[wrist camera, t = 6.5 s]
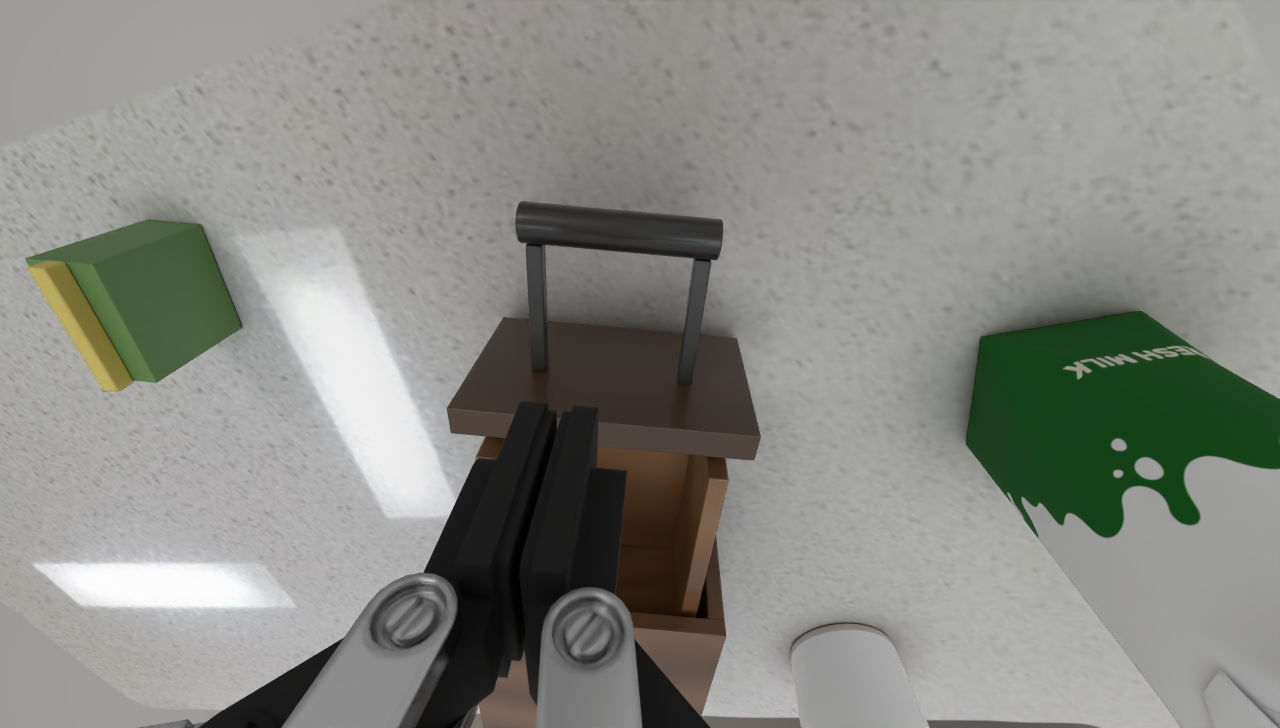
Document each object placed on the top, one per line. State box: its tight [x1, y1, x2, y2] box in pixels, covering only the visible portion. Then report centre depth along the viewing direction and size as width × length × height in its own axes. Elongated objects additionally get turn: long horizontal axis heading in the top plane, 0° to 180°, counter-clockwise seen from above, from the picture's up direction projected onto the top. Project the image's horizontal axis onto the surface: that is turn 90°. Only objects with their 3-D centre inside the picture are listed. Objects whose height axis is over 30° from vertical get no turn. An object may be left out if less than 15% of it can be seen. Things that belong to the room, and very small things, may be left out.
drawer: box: [447, 201, 761, 618], centre depth 23 cm, size 22×11×7 cm, turn 176°
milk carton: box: [966, 311, 1280, 728], centre depth 17 cm, size 9×9×20 cm
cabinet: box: [479, 536, 726, 728], centre depth 31 cm, size 17×13×9 cm
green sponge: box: [25, 220, 242, 392], centre depth 22 cm, size 3×6×6 cm, turn 176°
